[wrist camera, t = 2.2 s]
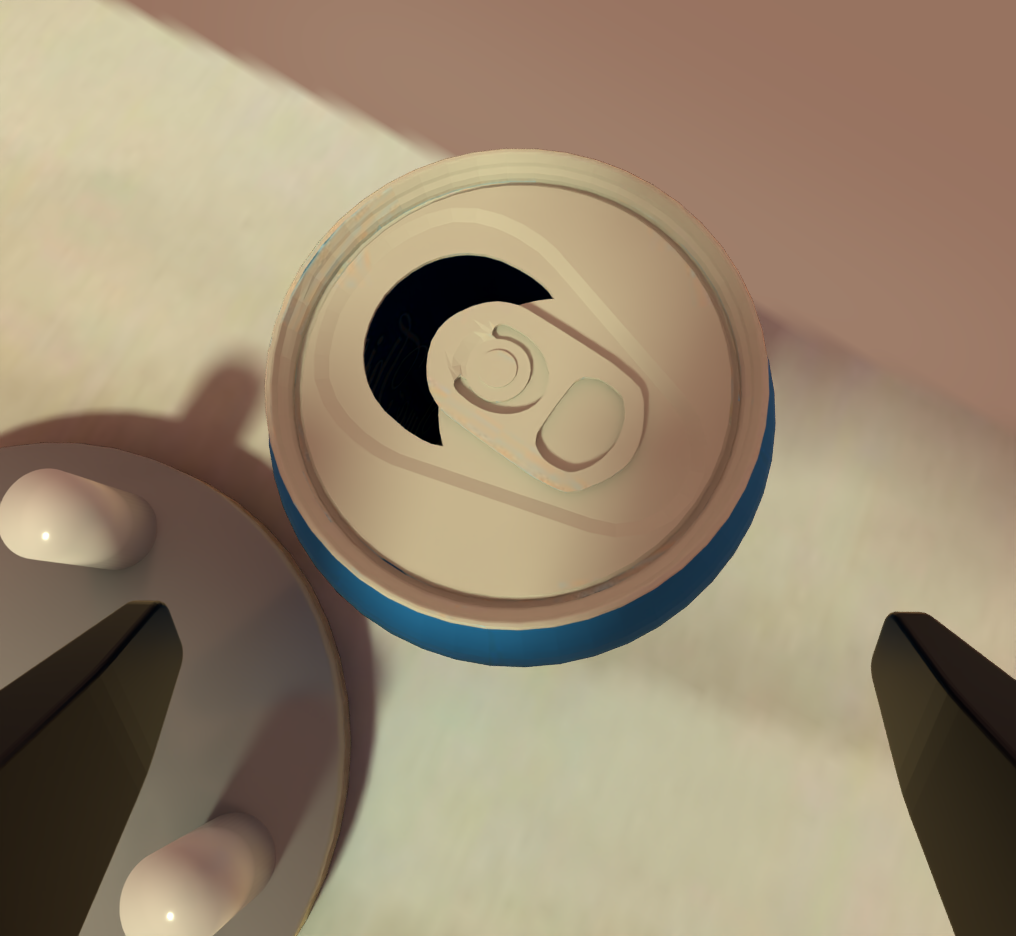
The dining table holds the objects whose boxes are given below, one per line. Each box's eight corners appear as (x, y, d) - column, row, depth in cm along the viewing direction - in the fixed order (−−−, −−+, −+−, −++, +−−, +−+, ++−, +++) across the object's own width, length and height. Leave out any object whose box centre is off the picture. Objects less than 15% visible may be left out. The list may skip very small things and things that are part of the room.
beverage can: (508, 360, 21) (453, 26, 9) (706, 493, 20) (924, 301, 8) (366, 549, 20) (109, 439, 9) (565, 699, 19) (585, 809, 7)
